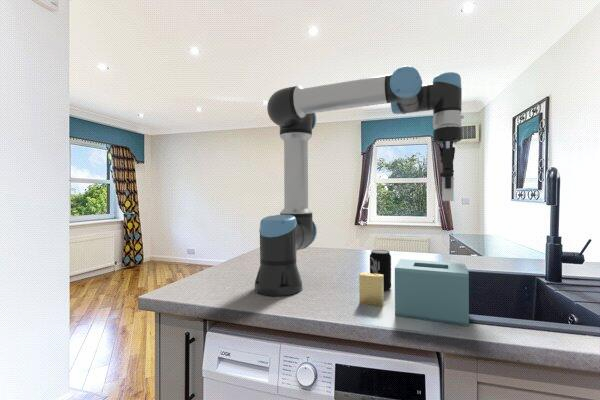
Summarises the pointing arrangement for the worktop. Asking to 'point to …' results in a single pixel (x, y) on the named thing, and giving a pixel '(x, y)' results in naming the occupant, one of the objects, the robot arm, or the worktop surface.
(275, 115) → the robot arm
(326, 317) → the worktop surface
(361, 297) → the beige rectangular block
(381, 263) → the beverage can
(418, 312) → the coin box
